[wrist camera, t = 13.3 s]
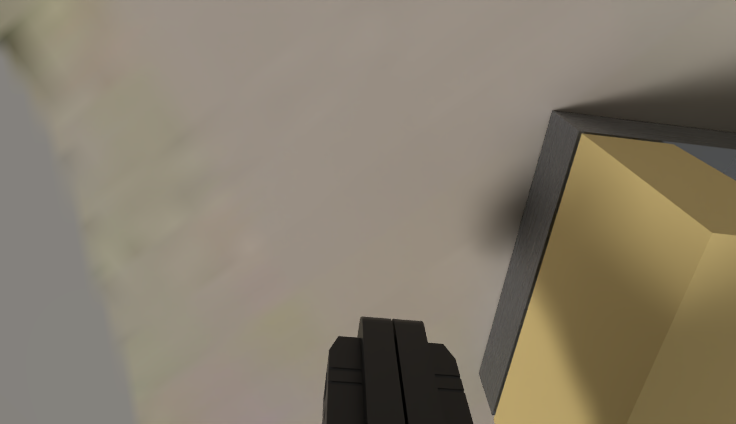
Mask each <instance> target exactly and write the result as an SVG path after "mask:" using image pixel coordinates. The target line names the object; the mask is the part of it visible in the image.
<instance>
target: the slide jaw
mask: <svg viewBox="0 0 736 424" xmlns="http://www.w3.org/2000/svg"><path fill="white" fill-rule="evenodd" d="M494 422H495V424H736V181H735V180H734V179H732V178H730V177H728V176H727V175H725V174H723V173H722V172H720V171H718V170H717V169H715V168H713V167H711V166H710V165H708V164H706V163H705V162H703V161H701V160H699V159H698V158H696V157H694V156H693V155H691V154H689V153H687V152H686V151H684V150H682V149H681V148H679V147H677V146H675V145H674V144H667V143H659V142H650V141H642V140H634V139H625V138H617V137H608V136H600V135H591V134H583V133H582V135H581V138H580V141H579V144H578V148H577V151H576V154H575V157H574V161H573V164H572V167H571V170H570V174H569V177H568V180H567V183H566V187H565V190H564V193H563V196H562V200H561V203H560V206H559V209H558V213H557V216H556V219H555V222H554V226H553V229H552V232H551V235H550V239H549V242H548V245H547V248H546V251H545V255H544V258H543V261H542V264H541V268H540V271H539V274H538V277H537V281H536V284H535V287H534V290H533V294H532V297H531V300H530V303H529V307H528V310H527V313H526V316H525V320H524V323H523V326H522V329H521V333H520V336H519V339H518V342H517V346H516V349H515V352H514V355H513V358H512V362H511V365H510V368H509V371H508V375H507V378H506V381H505V384H504V388H503V391H502V394H501V397H500V401H499V404H498V407H497V410H496V414H495V417H494Z"/></svg>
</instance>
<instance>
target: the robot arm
mask: <svg viewBox="0 0 736 424" xmlns="http://www.w3.org/2000/svg"><path fill="white" fill-rule="evenodd" d="M322 424H473V421H472V417H471V414H470V410H469V406H468V403H467V399H466V396H465V393H464V388H463V385H462V381H461V379H460V374H459V370H458V366H457V363H456V359H455V358H454V357H453V356H452V354H451V353H450V352H449V351H448V349H447V348H446V347H445V346H444V345H443V344H437V343H428V341H427V337H426V332H425V328H424V324H423V322H422V321H412V320H400V319H392V321H391V319H385V318H373V317H361V318H360V323H359V330H358V337H357V338H355V337H342V336H338V338H337V339H336V341H335V342H334V344H333V345H332V347H331V348H330V350H329V356H328V364H327V373H326V381H325V390H324V398H323V420H322Z"/></svg>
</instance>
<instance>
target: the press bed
mask: <svg viewBox="0 0 736 424" xmlns="http://www.w3.org/2000/svg"><path fill="white" fill-rule="evenodd" d="M582 133H583V134H591V135H600V136H608V137H617V138H625V139H634V140H642V141H650V142H659V143H667V144H674V145H675V146H677V147H679V148H681V149H682V150H684V151H686V152H687V153H689V154H691V155H693V156H694V157H696V158H698V159H699V160H701V161H703V162H705V163H706V164H708V165H710V166H711V167H713V168H715V169H717V170H718V171H720V172H722V173H723V174H725V175H727V176H728V177H730V178H732V179H734V180H735V181H736V133H731V132H722V131H714V130H706V129H698V128H690V127H681V126H673V125H665V124H657V123H648V122H640V121H632V120H624V119H615V118H607V117H599V116H591V115H583V114H574V113H566V112H558V111H552V114H551V117H550V121H549V125H548V128H547V132H546V135H545V139H544V143H543V146H542V150H541V153H540V157H539V160H538V164H537V168H536V171H535V175H534V178H533V182H532V185H531V189H530V193H529V196H528V200H527V203H526V207H525V211H524V214H523V218H522V221H521V225H520V228H519V232H518V236H517V239H516V243H515V246H514V250H513V254H512V257H511V261H510V264H509V268H508V271H507V275H506V279H505V282H504V286H503V289H502V293H501V296H500V300H499V304H498V307H497V311H496V314H495V318H494V322H493V325H492V329H491V332H490V336H489V339H488V343H487V347H486V350H485V354H484V357H483V361H482V364H481V368H480V372H479V376H480V379H481V382H482V385H483V388H484V391H485V394H486V397H487V400H488V404H489V407H490V410H491V413H492V415H495V414H496V410H497V407H498V404H499V401H500V397H501V394H502V391H503V388H504V384H505V381H506V378H507V375H508V371H509V368H510V365H511V362H512V358H513V355H514V352H515V349H516V346H517V342H518V339H519V336H520V333H521V329H522V326H523V323H524V320H525V316H526V313H527V310H528V307H529V303H530V300H531V297H532V294H533V290H534V287H535V284H536V281H537V277H538V274H539V271H540V268H541V264H542V261H543V258H544V255H545V251H546V248H547V245H548V242H549V239H550V235H551V232H552V229H553V226H554V222H555V219H556V216H557V213H558V209H559V206H560V203H561V200H562V196H563V193H564V190H565V187H566V183H567V180H568V177H569V174H570V170H571V167H572V164H573V161H574V157H575V154H576V151H577V148H578V144H579V141H580V138H581V135H582Z"/></svg>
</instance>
